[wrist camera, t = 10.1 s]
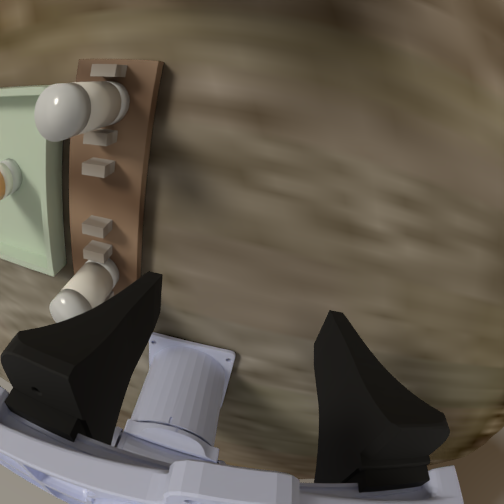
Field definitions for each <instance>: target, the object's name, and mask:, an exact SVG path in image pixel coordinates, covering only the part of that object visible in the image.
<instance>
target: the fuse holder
mask: <svg viewBox="0 0 504 504" xmlns="http://www.w3.org/2000/svg"><path fill="white" fill-rule="evenodd" d="M163 64H164V62H161V61H151V60H132V59H79V63H78V70H77V76H76V82H91V81H116V82H119V83H121V84H122V85H123V86H124V87H125V88H126V89H127V91H128V94H129V99H130V103H129V108H128V111H127V113H126V115H125V116H124V118H123V119H122V120H120V121H119V122H117V123H115V124H112V125H109V126H105V127H102V128H98V129H95V130H92V131H89V132H86V133H83V134H79V135H76V136H73V137H71V138H70V157H69V211H70V232H71V247H72V259H73V269H74V275H75V274H76V273H77V272H78V270H79V269H80V268H81V267H82V266H83V265H84V264H85V263H86V262H87V261H88V260H91V261H95V262H99V263H103V264H104V263H105V262H106V261H107V260H108V258H110V259H111V260H112V261H113V262H114V263H115V264H116V266H117V268H118V270H119V280H118V282H117V283H116V285H115V286H114V288H113V289H112V291H111V292H110V293H109V295H108V296H107V298H106V299H105V301H107V300H108V299H110V298H111V297H113V296H115V295H116V294H118V293H119V292H120V291H122V290H123V289H125V288H126V287H128V286H129V285H130V284H132V283H133V282H135V281H136V280H137V279H139V278H140V277H141V254H142V233H143V217H144V204H145V192H146V181H147V171H148V162H149V153H150V145H151V137H152V130H153V123H154V116H155V110H156V103H157V97H158V91H159V86H160V80H161V75H162V69H163ZM105 301H104V302H105Z"/></svg>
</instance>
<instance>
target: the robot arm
mask: <svg viewBox="0 0 504 504" xmlns="http://www.w3.org/2000/svg"><path fill="white" fill-rule="evenodd" d="M161 289H162V274H158V273H154V272H150V271H149V272H147V273H146V274H144V275H143V276H141V277H140V278H139V279H137V280H136V281H135V282H133V283H132V284H130V285H129V286H128V287H126V288H125V289H123V290H122V291H120V292H119V293H118V294H116V295H115V296H113V297H111V298H110V299H108V300H107V301H105V302H103V303H102V304H100V305H98V306H96V307H94V308H93V309H90V310H88V311H86V312H84V313H82V314H80V315H77V316H75V317H72V318H70V319H67V320H64V321H62V322H58V323H55V324H52V325H48V326H44V327H40V328H35V329H30V330H24V331H19V332H18V333H17V334H16V336H15V337H14V338H13V339H12V341H11V342H10V343H9V345H8V346H7V347H6V349H5V350H4V351H3V353H2V354H1V363H2V366H3V369H4V371H5V373H6V375H7V377H8V379H9V381H10V383H11V384H12V386H13V389H12V390H11V392H10V394H9V393H8V392H7V391H6V390H5V389H4V388H2V387H1V386H0V464H1V465H3V466H5V467H6V468H8V469H9V470H11V471H12V472H14V473H15V474H17V475H19V476H20V477H22V478H23V479H25V480H27V481H28V482H30V483H32V484H34V485H35V486H37V487H39V488H40V489H42V490H44V491H46V492H48V493H49V494H51V495H53V496H55V497H57V498H59V499H61V500H63V501H65V502H67V503H69V504H464V503H463V498H462V494H461V490H460V486H459V482H458V478H457V474H456V470H455V467H454V466H453V465H451V466H445V467H439V468H434V469H432V470H429V471H428V469H427V465H428V464H429V463H430V458H429V455H430V454H431V453H432V452H434V451H435V450H436V449H437V448H438V447H439V446H441V445H442V444H443V443H444V442H445V441H446V439H447V438H448V436H449V434H450V430H449V427H448V424H447V421H446V418H445V415H444V414H443V413H442V412H440V411H438V410H437V409H435V408H433V407H431V406H430V405H428V404H427V403H425V402H424V401H422V400H421V399H419V398H418V397H417V396H415V395H414V394H413V393H411V392H410V391H409V390H408V389H406V388H405V387H404V386H403V385H402V384H401V383H400V382H398V381H397V380H396V379H395V378H394V377H393V376H392V375H391V374H390V373H389V372H388V371H387V370H386V369H385V368H384V367H383V365H382V364H381V363H380V362H379V361H378V360H377V358H376V357H375V356H374V355H373V354H372V352H371V351H370V350H369V348H368V347H367V346H366V345H365V343H364V342H363V340H362V339H361V338H360V336H359V335H358V333H357V332H356V331H355V329H354V328H353V326H352V325H351V323H350V322H349V321H348V319H347V318H346V317H345V315H344V314H343V313H341V312H336V311H331V310H329V313H328V315H327V317H326V319H325V322H324V324H323V326H322V328H321V330H320V333H319V335H318V337H317V339H316V341H315V343H314V370H315V378H316V387H317V395H318V404H319V439H318V454H317V465H316V473H315V480H314V483H299V479H297V478H296V477H294V476H293V475H291V474H288V473H283V472H278V471H269V470H260V469H252V468H245V467H238V466H231V465H226V463H225V462H224V461H221V460H218V455H219V448H216V447H214V442H215V436H216V430H217V424H218V418H219V412H220V408H221V407H222V404H223V400H224V397H225V393H226V389H227V386H228V382H229V378H230V375H231V371H232V367H233V364H234V360H235V356H236V354H235V352H234V351H231V350H227V349H222V348H217V347H213V346H208V345H204V344H199V343H195V342H191V341H187V340H182V339H178V338H174V337H170V336H166V335H163V334H159V333H155V332H153V331H154V328H155V325H156V323H157V320H158V317H159V314H160V307H161ZM148 341H149V372H148V374H147V377H146V379H145V382H144V385H143V387H142V390H141V392H140V395H139V398H138V400H137V403H136V406H135V408H134V411H133V414H132V417H131V419H128V420H127V423H126V426H125V429H124V431H123V429H122V428H120V427H117V426H116V423H117V420H118V416H119V412H120V409H121V406H122V403H123V399H124V396H125V393H126V390H127V387H128V384H129V381H130V378H131V376H132V374H133V371H134V369H135V367H136V365H137V363H138V361H139V359H140V357H141V355H142V353H143V351H144V349H145V347H146V345H147V343H148ZM155 341H156V342H155ZM228 358H229V359H228Z"/></svg>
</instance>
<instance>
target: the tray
mask: <svg viewBox="0 0 504 504" xmlns="http://www.w3.org/2000/svg"><path fill="white" fill-rule="evenodd" d="M49 86H51V85H35V86H17V87H4V88H0V162H1V161H3V160H5V159H8V158H10V159H13V160H15V161H16V162H17V163H18V165H19V167H20V169H21V173H22V184H21V186H20V188H19V189H18V190H17V191H16V192H14V193H12V194H11V195H9V196H7V197H5V198H4V199H2V200H1V201H0V258H1V259H4V260H7V261H10V262H12V263H15V264H18V265H21V266H24V267H27V268H30V269H32V270H35V271H38V272H41V273H44V274H47V275H50V276H55V275H56V274H57V273H58V272H59V271H60V270H61V269H62V268H63V267H64V266H65V265H66V264H67V261H66V251H65V239H64V225H63V203H62V152H63V140H62V141H59V142H52V141H48V140H46V139H45V138H44V137H43V136H42V135H41V134H40V133H39V131H38V129H37V127H36V124H35V118H34V112H35V106H36V102H37V100H38V98H39V96H40V94H41V93H42V92H43V91H44V90H45V89H46V88H47V87H49Z"/></svg>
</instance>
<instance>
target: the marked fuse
mask: <svg viewBox="0 0 504 504" xmlns="http://www.w3.org/2000/svg"><path fill="white" fill-rule="evenodd" d="M21 184H22V173H21V169H20V167H19V165H18V163H17V162H16V161H15V160H13V159H10V158H8V159H5V160H3V161H1V162H0V201H1V200H2V199H4V198H5V197H7V196H9V195H11V194H12V193H14V192H16V191H17V190H18V189H19V188H20V186H21Z"/></svg>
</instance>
